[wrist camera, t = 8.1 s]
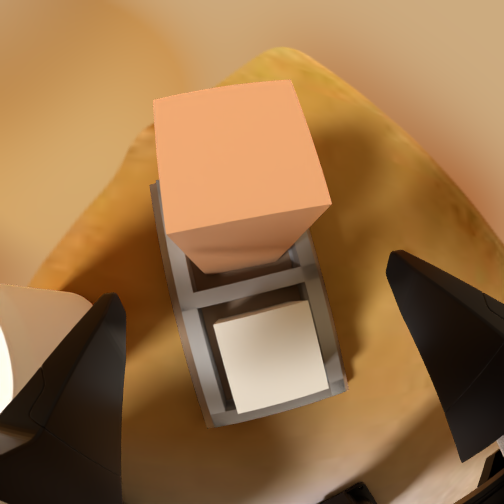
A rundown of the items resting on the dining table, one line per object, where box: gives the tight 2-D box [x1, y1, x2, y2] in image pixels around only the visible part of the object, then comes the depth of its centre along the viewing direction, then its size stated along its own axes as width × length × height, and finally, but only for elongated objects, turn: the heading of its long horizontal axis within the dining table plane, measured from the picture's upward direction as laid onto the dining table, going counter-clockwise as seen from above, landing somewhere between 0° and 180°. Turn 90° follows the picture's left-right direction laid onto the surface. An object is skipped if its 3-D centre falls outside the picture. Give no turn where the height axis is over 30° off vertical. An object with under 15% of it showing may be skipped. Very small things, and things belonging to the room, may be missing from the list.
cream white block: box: [213, 300, 329, 414], centre depth 18 cm, size 5×5×6 cm
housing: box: [150, 180, 349, 429], centre depth 21 cm, size 19×11×4 cm, turn 14°
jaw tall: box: [153, 80, 332, 276], centre depth 15 cm, size 5×5×13 cm
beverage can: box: [0, 283, 93, 413], centre depth 15 cm, size 8×8×12 cm
